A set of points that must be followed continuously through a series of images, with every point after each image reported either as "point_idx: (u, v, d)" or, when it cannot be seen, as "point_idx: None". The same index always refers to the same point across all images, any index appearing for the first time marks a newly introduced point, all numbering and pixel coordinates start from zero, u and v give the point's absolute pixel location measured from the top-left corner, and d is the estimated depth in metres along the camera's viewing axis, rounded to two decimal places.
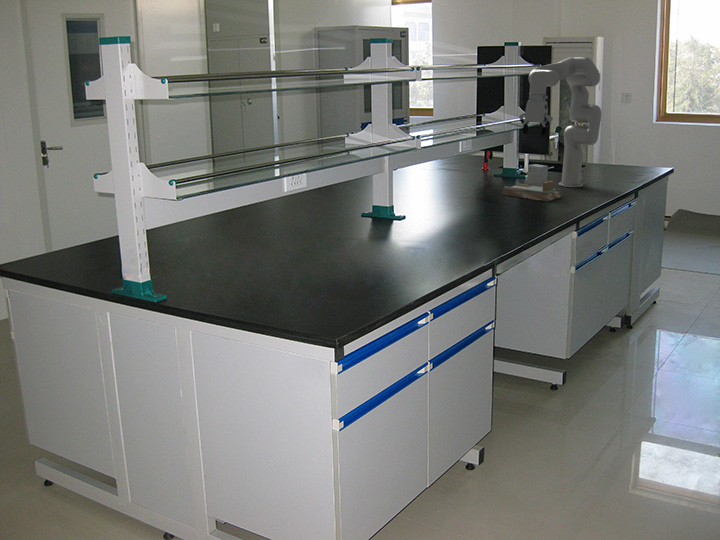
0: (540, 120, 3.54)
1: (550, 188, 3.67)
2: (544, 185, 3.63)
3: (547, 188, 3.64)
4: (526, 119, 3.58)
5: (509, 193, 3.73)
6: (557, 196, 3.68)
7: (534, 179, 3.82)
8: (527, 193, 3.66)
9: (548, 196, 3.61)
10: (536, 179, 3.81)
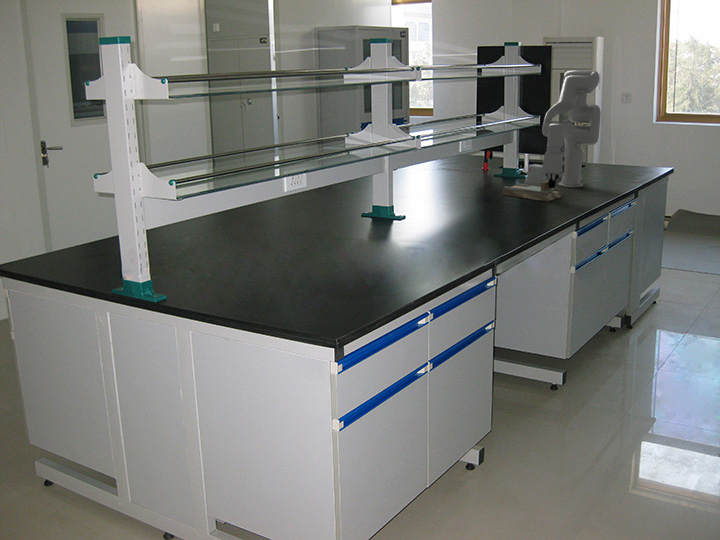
0: (558, 172, 3.59)
1: (548, 188, 3.67)
2: (542, 185, 3.63)
3: (545, 187, 3.64)
4: (544, 170, 3.63)
5: (509, 193, 3.73)
6: (557, 196, 3.68)
7: (534, 179, 3.82)
8: (527, 193, 3.66)
9: (548, 196, 3.61)
10: (536, 179, 3.81)
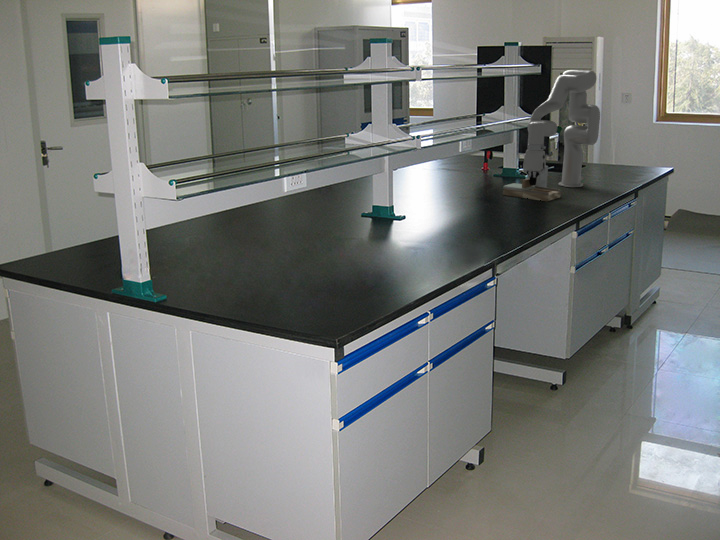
0: (538, 169, 3.65)
1: (529, 185, 3.74)
2: (523, 182, 3.70)
3: (526, 185, 3.71)
4: (525, 168, 3.70)
5: (509, 193, 3.73)
6: (557, 196, 3.68)
7: None
8: (527, 193, 3.66)
9: (548, 196, 3.61)
10: None
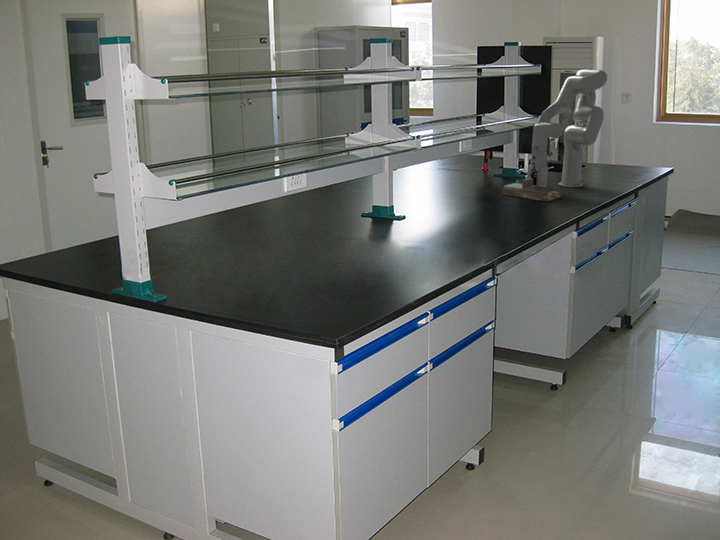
0: None
1: (530, 185, 3.74)
2: (524, 182, 3.70)
3: (526, 185, 3.71)
4: None
5: (509, 193, 3.73)
6: (557, 196, 3.68)
7: None
8: (527, 193, 3.66)
9: (548, 196, 3.61)
10: None
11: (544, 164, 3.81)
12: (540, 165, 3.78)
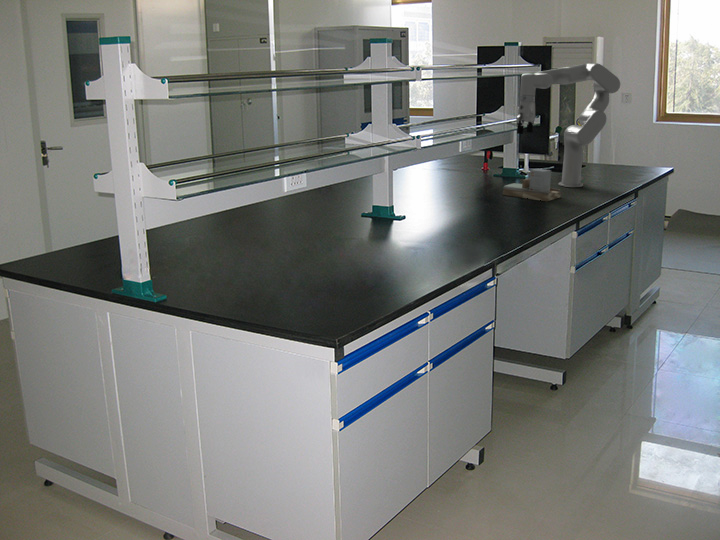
0: None
1: None
2: (524, 182, 3.70)
3: (526, 185, 3.71)
4: None
5: (509, 193, 3.73)
6: (557, 196, 3.68)
7: (537, 184, 3.66)
8: (527, 193, 3.66)
9: (548, 196, 3.61)
10: (539, 184, 3.65)
11: (532, 114, 3.82)
12: (528, 115, 3.79)
